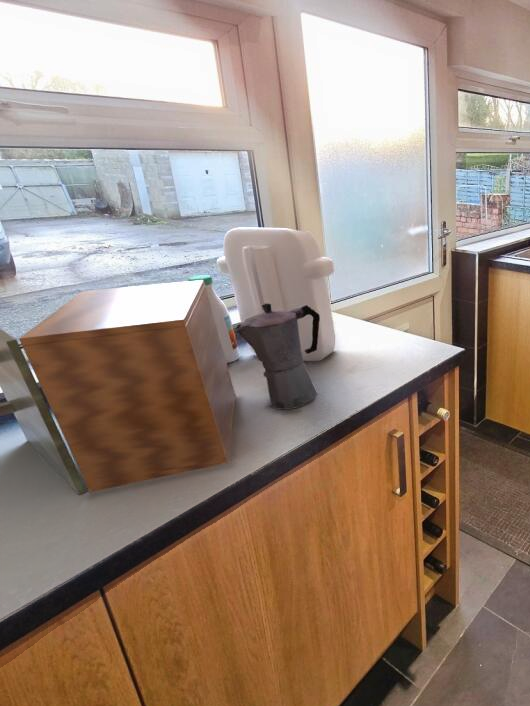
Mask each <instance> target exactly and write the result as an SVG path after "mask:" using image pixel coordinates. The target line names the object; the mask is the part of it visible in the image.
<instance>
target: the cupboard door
mask: <svg viewBox="0 0 530 706" xmlns="http://www.w3.org/2000/svg"><path fill="white" fill-rule="evenodd" d="M0 389H1V391H2V393H3V395H4V397H5V399H6V401H4V402H0V417H4V416H7V415H10V414H13V415H14V417H15V419H16V421H17V424H18V425H19V427H20V429H21V431H22V433H23V435H24V437H25V439H26V441H27V442H28V443H29V445H31V446H32V447H33V449H34V450H35V451H37V452H38V454H39V455H40V456H41V457H42V458H43V459H44V460H45V461H46V462H47V463H48V464H49V465H50V466H51V468H52V469H54V471H55V472H56V473H57V474H58V475H60V476H59V477H61V478H62V479H63V480H64V481H65V482H66V483H67V484H68V485H69V486H70V487H71V488H72V489H73V490H74V492H76V494H77V495H78V496H80V495H82V494H85V493H87V492H88V490H87V488H86V485H85V484H84V481H83V479H82V477H81V476H80V473H79V471H78V469H77V467H76V464H75V463H74V460H73V458H72V456H71V453H70V451H69V450H68V446H67V445H66V443H65V441H64V439H63V436H62V435H61V432H60V430H59V428H58V426H57V424H56V422H55V419H54V417H53V415H52V413H51V411H50V408H49V407H48V405H47V402H46V400H45V398H44V395H43V394H42V391H41V389H40V387H39V384H38V383H37V380H36V377H35V376H34V375H33V372H32V369H31V368H30V366H29V363H28V361H27V359H26V357H25V354H24V353H23V350H22V348H21V346H20V344H19V342H18V340H17V339H16V338H15V337H13V336H12V335H11V334H9V333H8V332H6V331H5V330H3V329H2V328H1V327H0Z"/></svg>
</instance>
